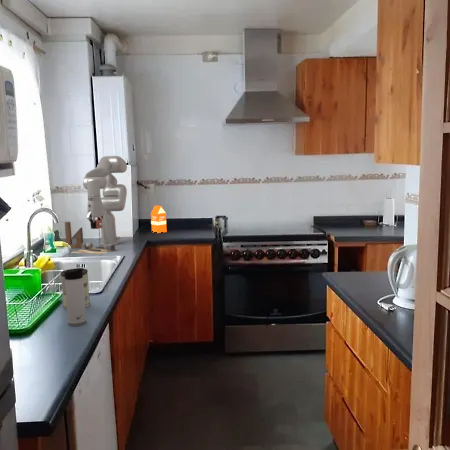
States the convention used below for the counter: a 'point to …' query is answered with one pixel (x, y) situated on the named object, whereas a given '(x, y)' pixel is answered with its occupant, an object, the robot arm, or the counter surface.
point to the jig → (95, 249)
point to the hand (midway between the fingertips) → (96, 227)
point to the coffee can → (86, 288)
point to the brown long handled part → (77, 236)
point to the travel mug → (75, 297)
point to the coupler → (98, 223)
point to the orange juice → (158, 219)
